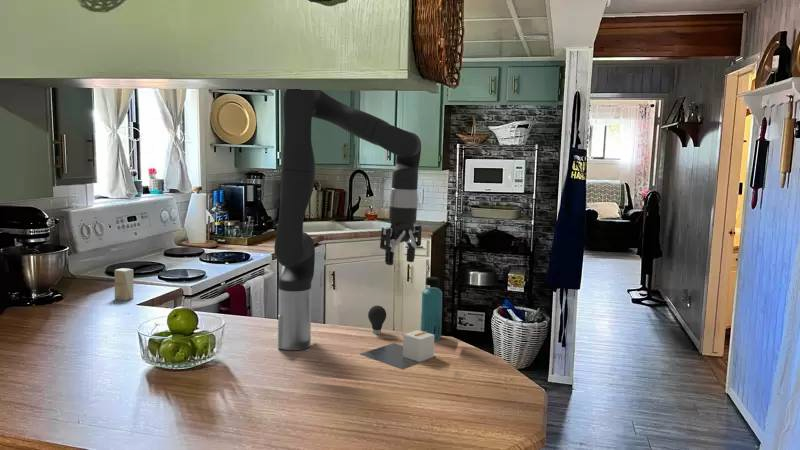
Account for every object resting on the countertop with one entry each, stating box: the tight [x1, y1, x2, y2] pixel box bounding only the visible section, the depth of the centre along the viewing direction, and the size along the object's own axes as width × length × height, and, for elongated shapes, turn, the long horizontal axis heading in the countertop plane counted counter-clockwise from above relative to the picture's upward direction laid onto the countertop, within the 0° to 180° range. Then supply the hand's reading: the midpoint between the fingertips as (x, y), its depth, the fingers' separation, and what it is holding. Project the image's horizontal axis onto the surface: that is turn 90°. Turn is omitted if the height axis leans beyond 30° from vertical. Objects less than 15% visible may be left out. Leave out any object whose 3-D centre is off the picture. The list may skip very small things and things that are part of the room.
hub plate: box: [359, 342, 437, 371], centre depth 164 cm, size 14×16×6 cm
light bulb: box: [367, 305, 387, 335], centre depth 184 cm, size 6×6×10 cm
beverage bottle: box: [420, 276, 443, 341], centre depth 180 cm, size 6×7×20 cm
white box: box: [402, 329, 435, 362], centre depth 163 cm, size 6×6×6 cm
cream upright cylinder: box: [114, 267, 134, 301], centre depth 220 cm, size 5×4×11 cm
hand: (399, 263), depth 166 cm, fingers open, 8 cm apart
